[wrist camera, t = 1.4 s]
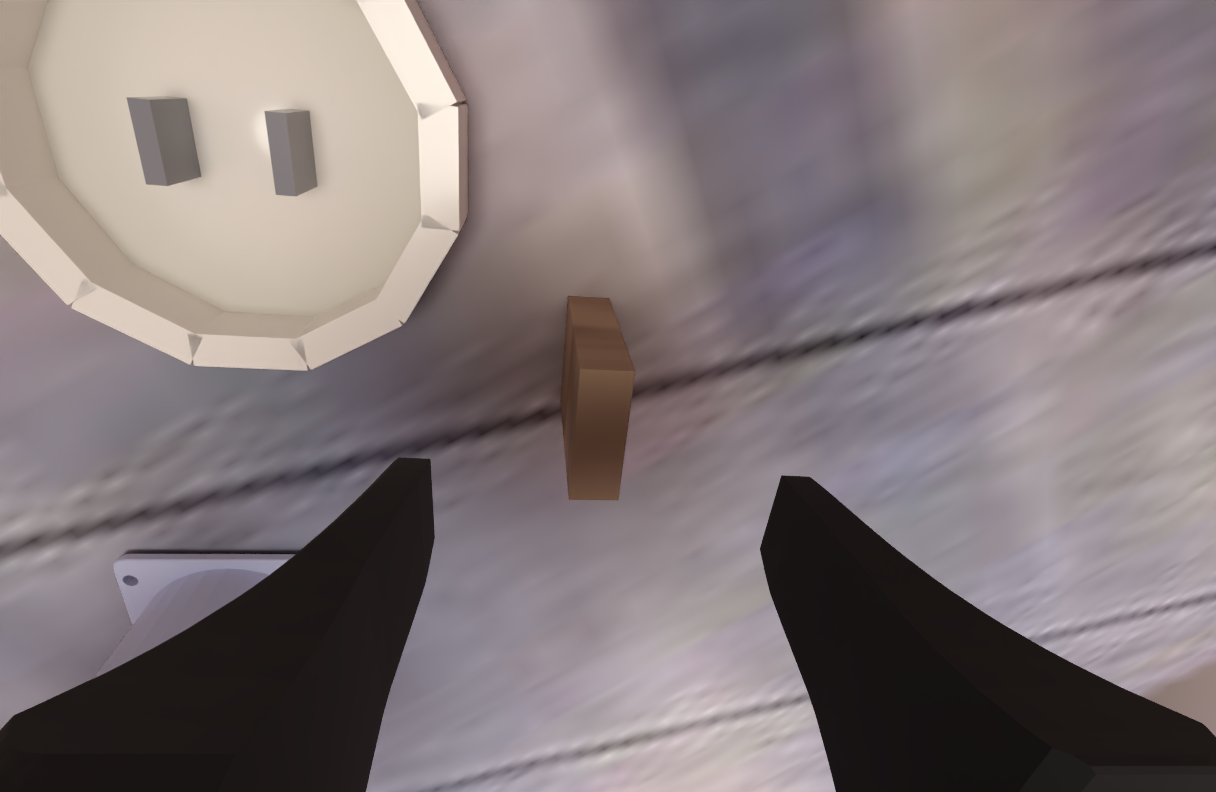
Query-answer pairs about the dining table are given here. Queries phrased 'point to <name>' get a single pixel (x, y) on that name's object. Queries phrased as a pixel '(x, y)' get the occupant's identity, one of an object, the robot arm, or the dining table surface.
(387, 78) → the white shallow dish
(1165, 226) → the dining table surface
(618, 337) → the brown wooden block
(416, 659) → the dining table surface
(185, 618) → the robot arm
